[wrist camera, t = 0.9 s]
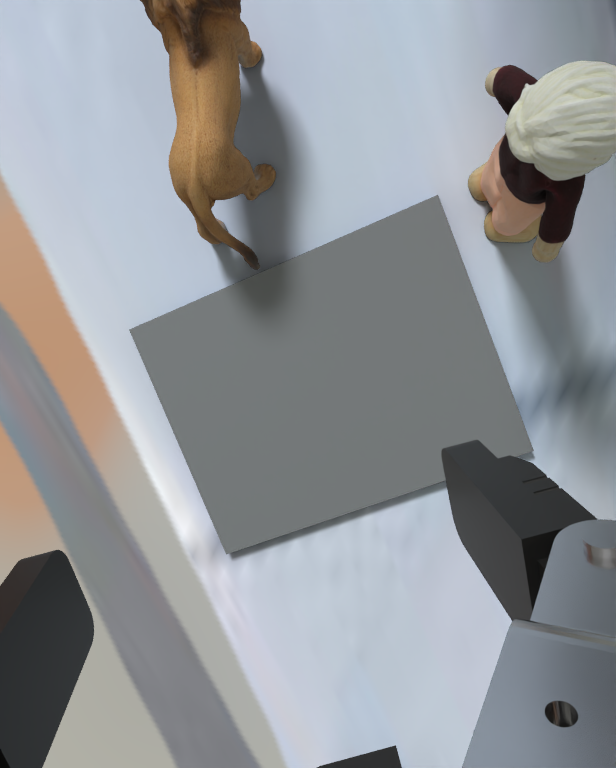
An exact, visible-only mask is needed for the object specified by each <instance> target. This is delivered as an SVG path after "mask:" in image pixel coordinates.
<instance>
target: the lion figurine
mask: <svg viewBox="0 0 616 768" xmlns="http://www.w3.org/2000/svg"><path fill="white" fill-rule="evenodd" d="M140 1H141V2H142V3H143V4H144V7H145V11H146V14H147V16H148V18H149V19H150V20H151V22H152V24H153V25H154V26H155V27H156V28H157V29H158V30H159V31H160V32H161V34H162V38H163V42H164V46H165V48H166V51H167V52H168V53H169V67H170V83H171V91H172V97H173V102H174V106H175V111H176V116H177V129H176V134H175V137H174V140H173V144H172V147H171V151H170V155H169V169H170V174H171V179H172V183H173V186H174V189H175V191H176V194H177V195H178V197H179V198H180V199H181V200H182V201H183V202H184V203H185V204H186V206H187V207H188V208H189V210H190V211H191V213H192V214H193V216H194V217H195V220H196V223H197V229H198V232H199V234H200V236H201V237H202V238H203V239H205V240H207V241H208V242H209V243H211V244H220V243H222V242H223V243H225V244H227V245H228V246H230V247H232V248H233V249H235V250H236V251H238V252H239V253H240V254H241V255H242V256H243V257H244V259H245V261H246V262H247V263H248V264H249V265H250V267H251V268H253V269H254V270H258V269H259V268H260V265H259V262H258V258H257V256H256V255H255V253H254V252H253V251H252V249H250V248H249V247H247V246H246V245H245V244H244V243H242V242H241V241H239V240H237V239H236V238H235V237H233V236H232V235H230V234H229V233H228V232H227V231H226V227H225V224H224V223H223V222H222V221H220V220H218V219H216V218H215V217H214V215H213V213H212V211H211V208H212V207H213V206H214V203H215V201H216V200H225V199H230V198H233V197H235V196H238V195H240V194H244V195H245V196H246V198H247V199H248V200H251V201H253V200H254V199H256V198H257V197H258V196H259V195H260V194H261V193H262V192H264V191H266V190H267V189H269V188H270V187H271V186H272V184H273V183H274V181H275V177H276V171H275V170H274V168H273V167H272V166H271V165H268V164H260V165H257V166H256V167H255V169H254V172H253V170H252V167H251V164H250V162H249V160H248V159H247V158H246V157H244V156H243V155H242V153H241V152H240V151H239V150H238V149H237V148H236V147H235V146H234V144H233V138H234V132H235V128H236V124H237V120H238V116H239V111H240V103H241V92H240V79H239V74H240V70H239V63H240V64H241V65H242V67H244V68H248V67H254V66H255V65H256V64H257V63H258V62H259V61H260V59H261V56H262V51H261V48H260V47H259V46H258V45H257V43H256V42H252V41H250V36H249V32H248V29H247V27H246V25H245V24H244V23H243V22H242V21H241V19H240V13H241V5H240V2H241V0H140Z"/></svg>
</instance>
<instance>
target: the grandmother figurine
mask: <svg viewBox="0 0 616 768" xmlns="http://www.w3.org/2000/svg"><path fill="white" fill-rule="evenodd" d="M485 88H486V91H487V92H488V94H489V95H491V96H493V97H496V99H497V100H498V102H499V104H500V105H501V107H502V109H503V110H504V111H505V112H506V113H507V115H508V119H507V121H506V124H505V135H504V136H503V137H502V138H501V140H500V141H499V142H498V143H497V145H496V146H495V147H494V149H493V151H492V153H491V156H490V158H489V160H488V162H486V163H485V164H484V165H482V166H481V167H479V168H478V169H476V170H475V171H474V172H473V173H472V174H471V175H470V177H469V180H468V187H469V190H470V192H471V194H472V196H473V197H474V198H475V199H477V200H479V201H487V200H488V202H489V204H490V206H491V207H492V209H493V210H492V211H490V212H489V213H488V214H487V216H486V218H485V220H484V229H485V233H486V236H487V237H488V238H489V239H491V240H493V241H498V242H528V241H530V240H532V239H533V238H535V237H536V236H537V238H536V242H535V243H534V245H533V248H532V254H533V256H534V258H535V259H536V260H537V261H539V262H550V261H552V260H553V259H555V258H556V257H557V255H558V253H559V249H560V248H561V247H562V245H563V243H564V241H565V240H566V239H567V238H568V236H569V235H570V232H571V229H572V226H573V221H574V216H575V211H576V208H577V205H578V203H579V200H580V198H581V195H582V191H583V188H584V182H585V174H586V173H589V172H590V171H592V170H593V169H594V168H596V167H599V166H601V165H603V164H604V163H606V162H608V161H609V160H610V158H611V156H612V154H614V153H615V152H616V66H615V65H611V64H609V63H606V62H595V61H576V62H571V63H568V64H565V65H563V66H560V67H558V68H556V69H554V70H553V71H551V72H549V73H547V74H546V75H544V76H543V77H542V78H541V79H539V80H536V79H535V78H534V77H532V76H531V75H529V74H527V73H526V72H525V71H523V70H522V69H520V68H518V67H516V66H513V65H508V66H503V67H498V68H495V69H493V70H492V71H491V72H490V73H489V74H488V76H487V78H486V81H485ZM542 213H543V215H542ZM541 215H542V217H541ZM537 234H538V235H537Z"/></svg>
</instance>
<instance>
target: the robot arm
mask: <svg viewBox="0 0 616 768" xmlns="http://www.w3.org/2000/svg"><path fill="white" fill-rule="evenodd" d="M441 457H442V463H443V469H444V474H445V479H446V484H447V489H448V494H449V500H450V505H451V510H452V515H453V519H454V523H455V526H456V529H457V532H458V535H459V537H460V539H461V541H462V543H463V545H464V547H465V548H466V550H467V551H468V553H469V555H470V556H471V558H472V559H473V561H474V562H475V564H476V565H477V567H478V569H479V570H480V572H481V573H482V575H483V576H484V578H485V579H486V581H487V582H488V584H489V586H490V587H491V589H492V590H493V592H494V593H495V595H496V596H497V598H498V600H499V601H500V603H501V604H502V606H503V607H504V609H505V610H506V612H507V613H508V615H509V617H510V618H511V620H512V623H511V625H510V627H509V630H508V632H507V635H506V638H505V641H504V644H503V647H502V650H501V653H500V656H499V659H498V662H497V665H496V668H495V671H494V674H493V677H492V680H491V683H490V686H489V689H488V692H487V695H486V698H485V701H484V703H483V706H482V709H481V712H480V715H479V718H478V721H477V724H476V727H475V730H474V733H473V736H472V739H471V742H470V745H469V748H468V751H467V754H466V757H465V760H464V763H463V766H462V768H616V521H615V520H602V519H601V520H598V519H597V518H595V517H594V516H593V515H592V514H591V513H590V512H589V511H587V510H586V509H585V508H584V507H583V506H582V505H580V504H579V503H578V502H577V501H576V500H575V499H573V498H572V497H571V496H570V495H569V494H568V493H566V492H565V491H564V490H563V489H562V488H560V489H559V486H558V485H557V484H556V483H555V482H554V481H552V480H551V479H550V478H547V476H546V475H545V474H544V473H543V472H542V471H541V470H540V469H538V468H537V467H536V466H535V465H534V464H533V463H531V462H528V461H525V460H522V459H519V458H516V457H514V456H511V455H509V456H505V457H501V458H497V457H496V456H495V455H494V454H493V453H492V452H491V451H490V450H489V449H487V448H486V447H485V446H484V445H483V444H482V443H481V442H480V441H479V440H473V441H469V442H465V443H462V444H458V445H454V446H450V447H447V448H443V449H442V451H441ZM93 636H94V624H93V618H92V614H91V611H90V608H89V606H88V604H87V601H86V599H85V597H84V594H83V592H82V590H81V587H80V585H79V583H78V580H77V578H76V576H75V573H74V571H73V569H72V566H71V564H70V562H69V560H68V558H67V556H66V555H65V554H64V553H63V552H62V551H60V550H55V551H51V552H47V553H44V554H40V555H36V556H33V557H28V558H25V559H21V560H20V561H18V563H17V564H16V565H15V566H14V568H13V569H12V571H11V572H10V573H9V575H8V576H7V578H6V579H5V580H4V582H3V583H2V584H1V586H0V768H42V767H43V764H44V762H45V760H46V757H47V755H48V752H49V750H50V747H51V744H52V742H53V740H54V737H55V734H56V732H57V730H58V727H59V725H60V722H61V720H62V717H63V715H64V712H65V710H66V707H67V705H68V702H69V700H70V697H71V695H72V692H73V690H74V687H75V685H76V682H77V680H78V677H79V675H80V673H81V670H82V668H83V665H84V663H85V660H86V658H87V655H88V653H89V650H90V647H91V645H92V642H93ZM317 768H402V767H401V763H400V759H399V756H398V752H397V748H396V746H392V747H388V748H385V749H381V750H377V751H374V752H370V753H366V754H363V755H359V756H355V757H352V758H348V759H344V760H341V761H337V762H333V763H330V764H326V765H322V766H319V767H317Z"/></svg>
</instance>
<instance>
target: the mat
mask: <svg viewBox="0 0 616 768" xmlns="http://www.w3.org/2000/svg"><path fill="white" fill-rule="evenodd" d="M130 333H131V335H132V337H133V340H134V342H135V344H136V346H137V349H138V351H139V353H140V356H141V358H142V360H143V363H144V365H145V367H146V370H147V372H148V374H149V377H150V379H151V381H152V384H153V386H154V388H155V390H156V393H157V395H158V397H159V400H160V402H161V404H162V407H163V409H164V411H165V414H166V416H167V418H168V421H169V423H170V425H171V427H172V430H173V432H174V434H175V437H176V439H177V441H178V444H179V446H180V448H181V451H182V453H183V455H184V458H185V460H186V462H187V465H188V467H189V469H190V471H191V474H192V476H193V478H194V481H195V483H196V485H197V488H198V490H199V492H200V495H201V497H202V499H203V502H204V504H205V506H206V508H207V511H208V513H209V515H210V518H211V520H212V522H213V525H214V527H215V529H216V532H217V534H218V536H219V539H220V541H221V543H222V546H223V548H224V550H225V552H226V554H229V553H232V552H235V551H238V550H241V549H244V548H247V547H250V546H253V545H256V544H259V543H262V542H265V541H268V540H271V539H273V538H276V537H279V536H282V535H285V534H288V533H291V532H294V531H297V530H300V529H303V528H306V527H309V526H312V525H315V524H318V523H321V522H324V521H327V520H330V519H333V518H336V517H339V516H342V515H345V514H348V513H351V512H354V511H357V510H360V509H363V508H366V507H368V506H371V505H374V504H377V503H380V502H383V501H386V500H389V499H392V498H395V497H398V496H401V495H404V494H407V493H410V492H413V491H416V490H419V489H422V488H425V487H428V486H431V485H434V484H437V483H440V482H443V481H446V479H445V474H444V469H443V463H442V457H441V451H442V449H443V448H447V447H450V446H454V445H458V444H462V443H465V442H469V441H473V440H479V441H480V442H481V443H482V444H483V445H484V446H485V447H486V448H487V449H489V450H490V451H491V452H492V453H493V454H494V455H495V456H496V457H497V458H501V457H505V456H509V455H511V456H514V457H517V456H520V455H523V454H526V453H529V452H532V451H534V450H533V448H532V445H531V442H530V440H529V437H528V434H527V432H526V429H525V426H524V424H523V421H522V418H521V416H520V413H519V410H518V408H517V405H516V402H515V400H514V397H513V394H512V392H511V389H510V386H509V383H508V381H507V378H506V375H505V373H504V370H503V367H502V365H501V362H500V359H499V357H498V354H497V351H496V349H495V346H494V343H493V341H492V338H491V335H490V333H489V330H488V327H487V325H486V322H485V319H484V317H483V314H482V311H481V309H480V306H479V303H478V301H477V298H476V295H475V293H474V290H473V287H472V285H471V282H470V279H469V277H468V274H467V271H466V269H465V266H464V263H463V261H462V258H461V255H460V253H459V250H458V247H457V245H456V242H455V239H454V237H453V234H452V231H451V229H450V226H449V223H448V221H447V218H446V215H445V213H444V210H443V207H442V205H441V202H440V199H439V197H438V195H437V196H434V197H432V198H430V199H427V200H425V201H423V202H421V203H418V204H416V205H414V206H411V207H409V208H407V209H405V210H402V211H400V212H398V213H395V214H393V215H391V216H389V217H386V218H384V219H382V220H379V221H377V222H375V223H372V224H370V225H368V226H366V227H363V228H361V229H359V230H356V231H354V232H352V233H350V234H347V235H345V236H343V237H340V238H338V239H336V240H334V241H331V242H329V243H327V244H324V245H322V246H320V247H318V248H315V249H313V250H311V251H308V252H306V253H304V254H302V255H299V256H297V257H295V258H292V259H290V260H288V261H286V262H283V263H281V264H279V265H276V266H274V267H272V268H270V269H267V270H265V271H263V272H260V273H258V274H256V275H253V276H251V277H249V278H247V279H244V280H242V281H240V282H237V283H235V284H233V285H231V286H228V287H226V288H224V289H221V290H219V291H217V292H215V293H212V294H210V295H208V296H205V297H203V298H201V299H199V300H196V301H194V302H192V303H189V304H187V305H185V306H183V307H180V308H178V309H176V310H173V311H171V312H169V313H167V314H164V315H162V316H160V317H157V318H155V319H153V320H151V321H148V322H146V323H144V324H141V325H139V326H137V327H134V328H132V329H130Z"/></svg>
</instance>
